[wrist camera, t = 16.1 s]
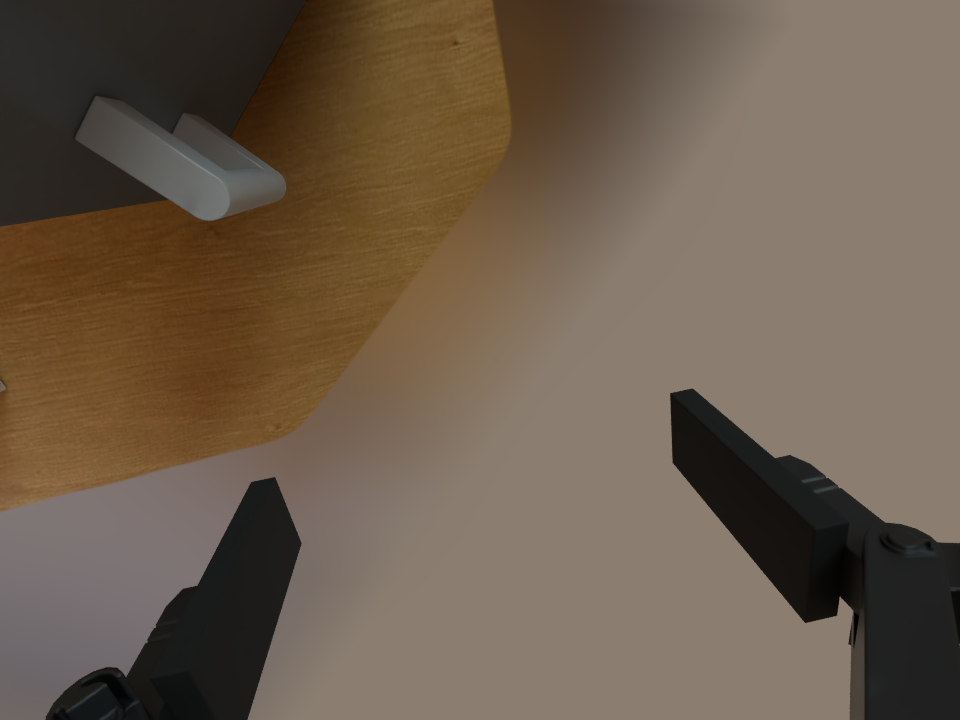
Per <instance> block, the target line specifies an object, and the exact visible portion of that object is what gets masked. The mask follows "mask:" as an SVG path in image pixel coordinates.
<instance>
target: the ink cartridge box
mask: <svg viewBox="0 0 960 720" xmlns="http://www.w3.org/2000/svg"><path fill="white" fill-rule="evenodd" d="M5 389H6V387H5V386H4V384H3V383H2V382H1V380H0V392H2V391H3V390H5Z"/></svg>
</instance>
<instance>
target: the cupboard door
mask: <svg viewBox="0 0 960 720" xmlns="http://www.w3.org/2000/svg"><path fill="white" fill-rule="evenodd" d="M305 1H306V0H0V227H1V226H7V225H13V224H19V223H25V222H31V221H38V220H44V219H50V218H56V217H62V216H69V215H75V214H81V213H87V212H93V211H100V210H106V209H112V208H118V207H124V206H131V205H137V204H143V203H149V202H155V201H161V200H168V199H169V200H170V201H172V202H173V203H175V204H176V205H178V206H180V207H181V208H183V209H184V210H186V211H187V212H189V213H190V214H192V215H193V216H195V217H196V218H199V219H201V220H205V221H214V220H218V219H221V218H224V217H228V216H231V215H234V214H238V213H241V212H244V211H248V210H251V209H254V208H258V207H261V206H264V205H268V204H271V203H274V202H277V201H279V200H281V199H282V198H283V197H284V195H285V193H286V182H285V180H284V178H283V176H282V175H281V174H280V173H279V172H278V171H276V170H275V169H273V168H272V167H271V166H269V165H268V164H266V163H265V162H264V161H262V160H261V159H259V158H258V157H256V156H255V155H254V154H252V153H251V152H249V151H248V150H247V149H245V148H244V147H242V146H241V145H239V144H238V143H237V142H235V141H234V140H232V139H231V138H230V137H229V136H230V135H231V133H232V131H233V129H234V127H235V126H236V124H237V122H238V120H239V119H240V117H241V115H242V113H243V112H244V110H245V108H246V106H247V104H248V103H249V101H250V99H251V97H252V96H253V94H254V92H255V90H256V88H257V87H258V85H259V83H260V81H261V80H262V78H263V76H264V74H265V72H266V71H267V69H268V67H269V65H270V64H271V62H272V60H273V58H274V56H275V55H276V53H277V51H278V49H279V48H280V46H281V44H282V42H283V41H284V39H285V37H286V35H287V33H288V32H289V30H290V28H291V26H292V25H293V23H294V21H295V19H296V17H297V16H298V14H299V12H300V10H301V9H302V7H303V5H304V3H305Z"/></svg>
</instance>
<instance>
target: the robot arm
mask: <svg viewBox="0 0 960 720" xmlns="http://www.w3.org/2000/svg"><path fill="white" fill-rule="evenodd" d="M670 400H671V426H672V456H673V464H674V465H675V466H676V467H677V469H678V470H679V471H680V472H681V473H682V474H683V476H684V477H685V478H686V479H687V481H688V482H689V483H690V484H691V485H692V487H693V488H694V489H695V490H696V491H697V493H698V494H699V495H700V496H701V498H702V499H703V500H704V501H705V502H706V503H707V505H708V506H709V507H710V508H711V510H712V511H713V512H714V513H715V514H716V516H717V517H718V518H719V519H720V521H721V522H722V523H723V524H724V525H725V526H726V528H727V529H728V530H729V531H730V533H731V534H732V535H733V536H734V537H735V539H736V540H737V541H738V542H739V543H740V545H741V546H742V547H743V548H744V549H745V551H746V552H747V553H748V554H749V556H750V557H751V558H752V559H753V560H754V562H755V563H756V564H757V565H758V566H759V568H760V569H761V570H762V571H763V573H764V574H765V575H766V576H767V577H768V579H769V580H770V581H771V582H772V583H773V585H774V586H775V587H776V588H777V589H778V591H779V592H780V593H781V594H782V595H783V597H784V598H785V599H786V600H787V601H788V603H789V604H790V605H791V606H792V608H793V609H794V610H795V611H796V612H797V614H798V615H799V616H800V617H801V618H802V620H803V621H804V622H805V623H807V622H812V621H816V620H820V619H825V618H829V617H833V616H837V612H838V605H839V597H841V598H842V599H843V600H844V601H845V602H846V603H847V604H848V605H849V606H850V607H851V608H852V609H853V617H852V624H851V630H850V637H849V645H851V684H850V720H960V645H959V644H960V543H939V542H936V541H935V540H934V539H933V538H932V537H930V536H929V535H927V534H925V533H923V532H921V531H919V530H918V529H915V528H912V527H908V526H905V525H902V524H893V523H885V522H884V521H882V520H881V519H880V518H879V517H877V516H876V515H875V514H873V513H872V512H871V511H869V510H868V509H867V508H866V507H865V506H863V505H862V504H861V503H859V502H858V501H857V500H856V499H854V498H853V497H852V496H850V495H849V494H848V493H847V492H845V491H844V490H843V489H842V488H838V485H836V484H835V483H834V482H833V481H831V480H830V479H829V478H826V476H825V475H824V474H823V473H821V472H820V471H818V470H817V469H816V468H815V467H813V466H812V465H811V464H809V463H807V462H805V461H802V460H800V459H798V458H795V457H793V456H791V455H788V456H784V457H779V458H774V457H773V456H772V455H770V454H769V453H768V452H767V451H765V450H764V449H763V448H762V447H761V446H760V445H758V444H757V443H756V442H755V441H754V440H753V439H751V438H750V437H749V436H748V435H747V434H746V433H744V432H743V431H742V430H741V429H740V428H738V427H737V426H736V425H735V424H734V423H733V422H732V421H730V420H729V419H728V418H727V417H726V416H724V415H723V414H722V413H721V412H720V411H719V410H717V409H716V408H715V407H714V406H712V405H711V404H710V403H709V402H708V401H707V400H706V399H704V398H703V397H702V396H701V395H700V394H699V393H697V392H696V391H695V390H694V389H688V390H684V391H679V392H674V393H670ZM300 547H301V541H300V538H299V536H298V533H297V531H296V528H295V526H294V523H293V521H292V518H291V516H290V513H289V511H288V508H287V506H286V503H285V501H284V498H283V496H282V493H281V491H280V488H279V486H278V483H277V481H276V478H275V477H273V478H269V479H264V480H259V481H254V482H251V484H250V486H249V488H248V490H247V491H246V493H245V495H244V497H243V499H242V501H241V503H240V505H239V507H238V509H237V511H236V513H235V514H234V517H233V519H232V520H231V522H230V524H229V526H228V528H227V530H226V532H225V534H224V536H223V538H222V539H221V542H220V543H219V545H218V547H217V549H216V551H215V553H214V555H213V557H212V559H211V561H210V563H209V564H208V566H207V568H206V570H205V572H204V574H203V576H202V578H201V580H200V582H199V584H198V586H194V587H189V588H185V589H183V590H181V591H180V593H179V594H178V595H177V596H176V597H175V598H174V599H173V600H172V601H171V602H170V603H169V604H168V605H167V606H166V608H165V609H164V611H163V613H162V615H161V617H160V618H159V620H158V622H157V624H156V628H154V629H153V631H152V632H151V634H150V636H149V638H148V643H145V645H144V647H143V648H142V650H141V652H140V654H139V655H138V657H137V659H136V661H135V662H134V664H133V666H132V668H131V670H130V671H129V673H128V675H127V677H125V675H124V674H123V673H122V672H121V671H120V670H119V669H118V668H112V667H106V668H103V669H100V670H96V671H94V672H92V673H90V674H88V675H87V676H85V677H83V678H81V679H79V680H78V681H77V682H76V683H75V684H73V685H72V686H70V687H69V688H68V689H67V690H65V691H64V692H63V694H62V695H61V696H60V697H59V698H58V699H57V700H56V701H55V702H54V704H53V705H52V707H51V709H50V711H49V712H48V714H47V716H46V720H247V719H248V716H249V713H250V709H251V706H252V703H253V700H254V696H255V693H256V690H257V687H258V683H259V680H260V677H261V674H262V670H263V667H264V664H265V661H266V657H267V654H268V650H269V648H270V644H271V641H272V637H273V634H274V631H275V628H276V625H277V622H278V618H279V615H280V612H281V609H282V605H283V602H284V599H285V595H286V592H287V589H288V586H289V582H290V579H291V576H292V573H293V569H294V566H295V562H296V560H297V556H298V553H299V550H300Z"/></svg>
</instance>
